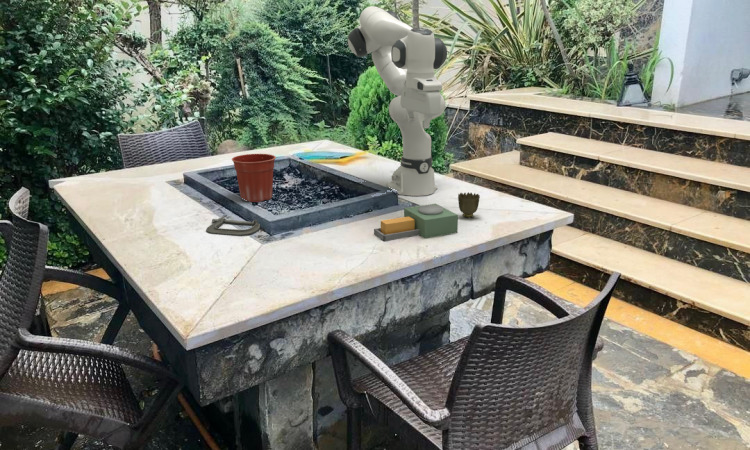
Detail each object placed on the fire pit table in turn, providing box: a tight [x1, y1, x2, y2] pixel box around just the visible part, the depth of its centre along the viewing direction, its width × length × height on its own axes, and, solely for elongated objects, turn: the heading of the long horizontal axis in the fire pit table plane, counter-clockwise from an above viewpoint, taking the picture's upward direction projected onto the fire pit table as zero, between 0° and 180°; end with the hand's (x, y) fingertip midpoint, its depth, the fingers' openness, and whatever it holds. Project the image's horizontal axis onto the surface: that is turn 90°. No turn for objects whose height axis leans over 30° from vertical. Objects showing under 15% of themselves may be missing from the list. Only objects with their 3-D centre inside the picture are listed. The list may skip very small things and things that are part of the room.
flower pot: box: [231, 153, 277, 203], centre depth 222 cm, size 16×16×16 cm
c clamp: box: [205, 215, 261, 237], centre depth 192 cm, size 20×17×3 cm
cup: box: [457, 191, 480, 219], centre depth 199 cm, size 8×7×8 cm
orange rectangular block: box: [380, 216, 415, 235], centre depth 183 cm, size 4×10×5 cm, turn 114°
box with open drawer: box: [373, 203, 459, 242], centre depth 185 cm, size 14×25×7 cm, turn 115°
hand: (418, 125), depth 188 cm, fingers open, 8 cm apart
